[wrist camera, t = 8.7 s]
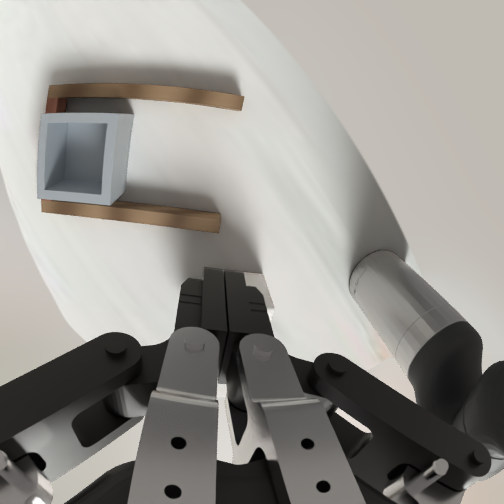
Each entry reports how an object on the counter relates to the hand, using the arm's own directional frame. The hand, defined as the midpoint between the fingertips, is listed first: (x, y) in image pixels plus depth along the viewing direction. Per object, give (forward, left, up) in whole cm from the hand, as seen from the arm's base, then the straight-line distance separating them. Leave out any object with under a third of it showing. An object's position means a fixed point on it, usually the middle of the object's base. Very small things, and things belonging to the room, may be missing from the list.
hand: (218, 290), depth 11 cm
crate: (+15, -1, -24) cm, 28 cm away
